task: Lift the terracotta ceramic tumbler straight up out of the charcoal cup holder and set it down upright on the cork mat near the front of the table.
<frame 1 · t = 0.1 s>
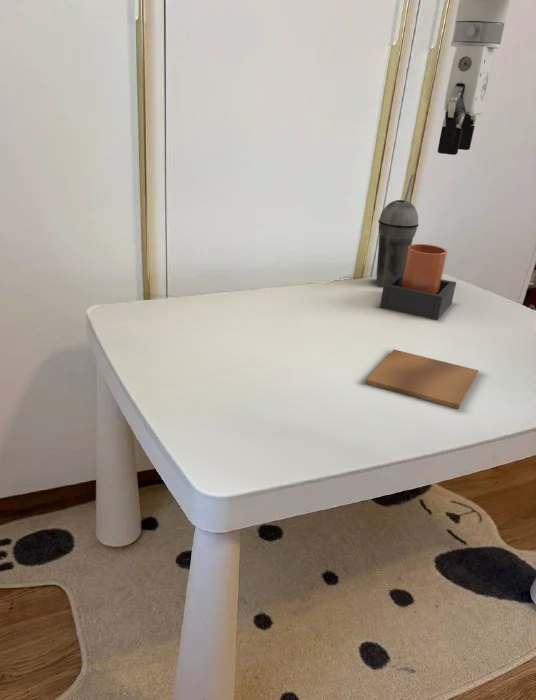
hand: (453, 151, 109), 24 cm above the table, tool pointing down, fingers open, 9 cm apart
cork mat: (423, 378, 85), on the table
cup holder: (416, 305, 111), on the table
beverage cup: (387, 284, 121), on the table
tumbler: (421, 277, 109), in the cup holder
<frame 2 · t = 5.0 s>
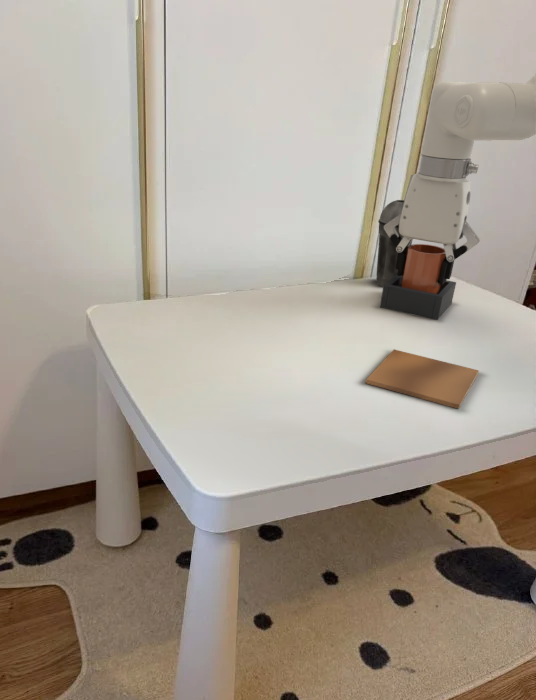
hand: (421, 277, 108), 5 cm above the table, tool pointing down, fingers closed on tumbler, 6 cm apart
tumbler: (421, 277, 109), in the cup holder, touching gripper
everything else where it was.
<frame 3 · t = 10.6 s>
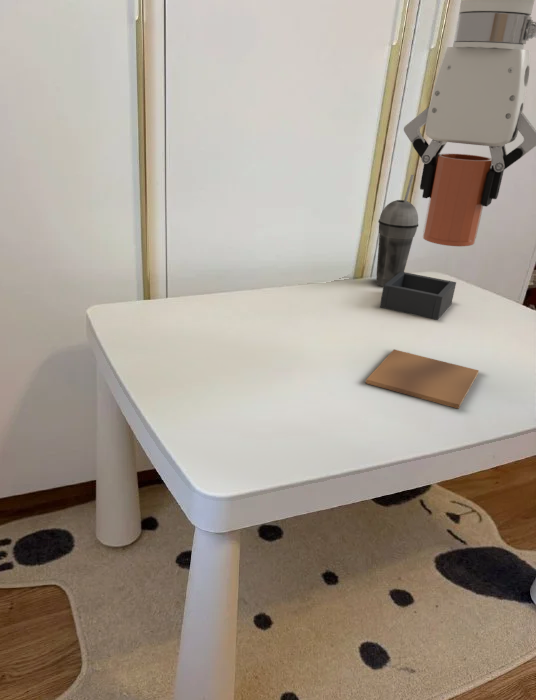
hand: (456, 199, 79), 22 cm above the table, tool pointing down, fingers closed on tumbler, 6 cm apart
tumbler: (456, 199, 79), point 22 cm above the table, touching gripper
everything else where it was.
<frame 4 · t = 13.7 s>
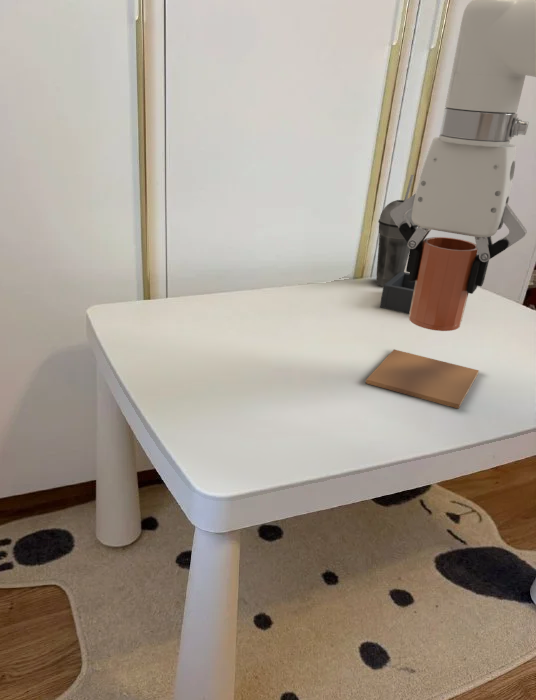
hand: (442, 283, 78), 13 cm above the table, tool pointing down, fingers closed on tumbler, 6 cm apart
tumbler: (442, 283, 78), point 13 cm above the table, touching gripper
everything else where it was.
when the fingers open (6 cm above the table, at t = 16.3 s): tumbler stays where it is, resting on cork mat.
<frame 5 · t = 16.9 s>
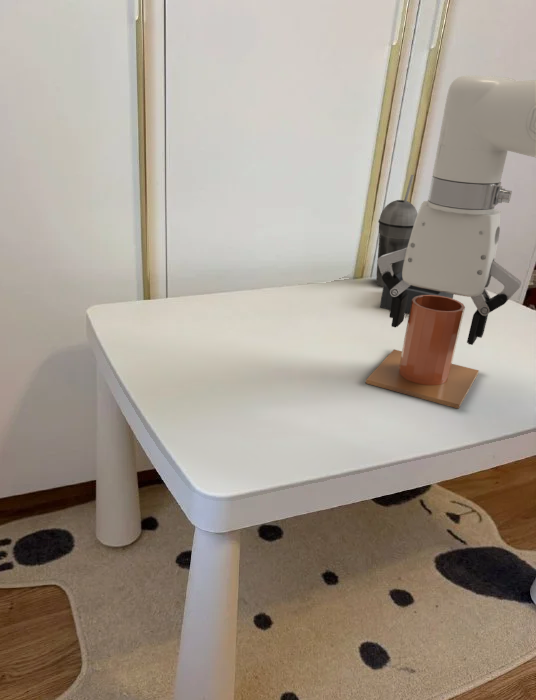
hand: (433, 332, 81), 7 cm above the table, tool pointing down, fingers open, 9 cm apart
tumbler: (430, 339, 82), on the cork mat, point 6 cm above the table
everything else where it was.
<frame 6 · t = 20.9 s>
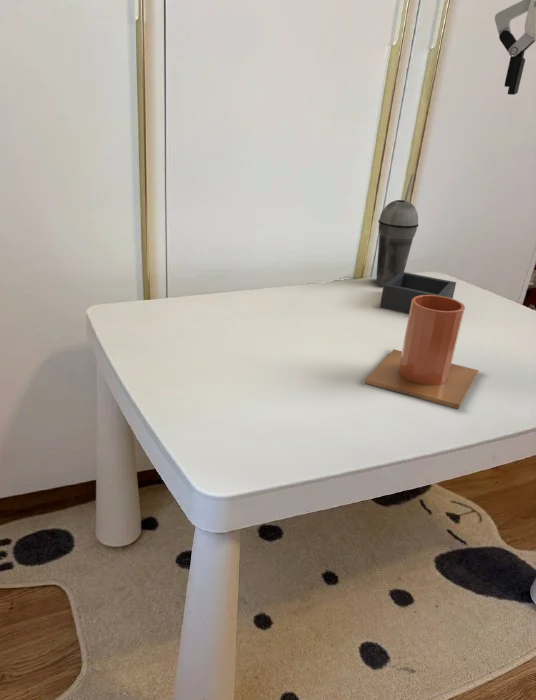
nothing on the table moved.
at the end: tumbler inside the target area on the cork mat (0.1 cm from its centre), point 5.6 cm above the cork mat's base; tumbler tilted 0°; tumbler touching cork mat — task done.
